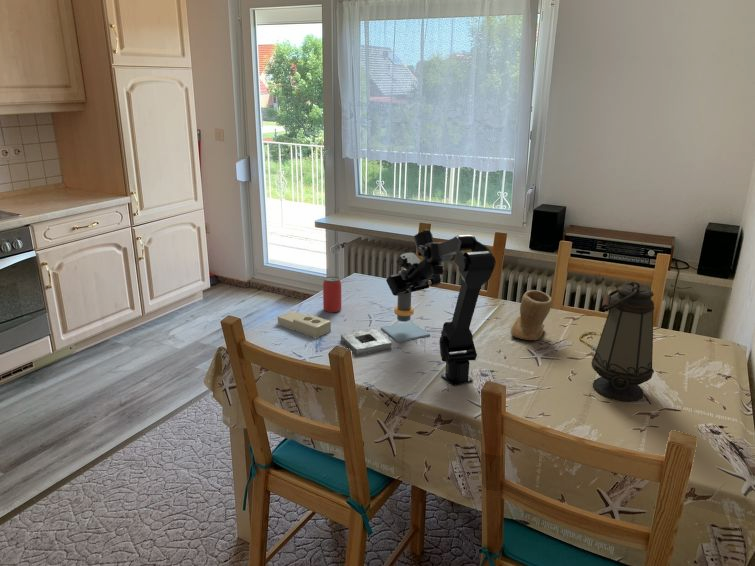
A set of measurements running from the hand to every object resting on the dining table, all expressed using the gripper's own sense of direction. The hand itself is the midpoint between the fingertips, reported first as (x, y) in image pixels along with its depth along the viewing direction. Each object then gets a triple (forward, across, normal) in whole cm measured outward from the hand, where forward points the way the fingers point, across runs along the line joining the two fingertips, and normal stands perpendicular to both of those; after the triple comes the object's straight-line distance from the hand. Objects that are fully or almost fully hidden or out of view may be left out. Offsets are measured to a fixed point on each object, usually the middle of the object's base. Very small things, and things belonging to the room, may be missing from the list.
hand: (401, 293), depth 178 cm
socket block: (+8, +16, +11) cm, 21 cm away
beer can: (+31, +8, -11) cm, 34 cm away
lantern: (-36, -24, +55) cm, 70 cm away
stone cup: (-9, -34, +28) cm, 45 cm away
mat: (+9, -1, +11) cm, 14 cm away
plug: (+5, 0, +7) cm, 9 cm away
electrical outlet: (+25, +25, -5) cm, 36 cm away
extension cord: (-21, -46, +41) cm, 65 cm away
